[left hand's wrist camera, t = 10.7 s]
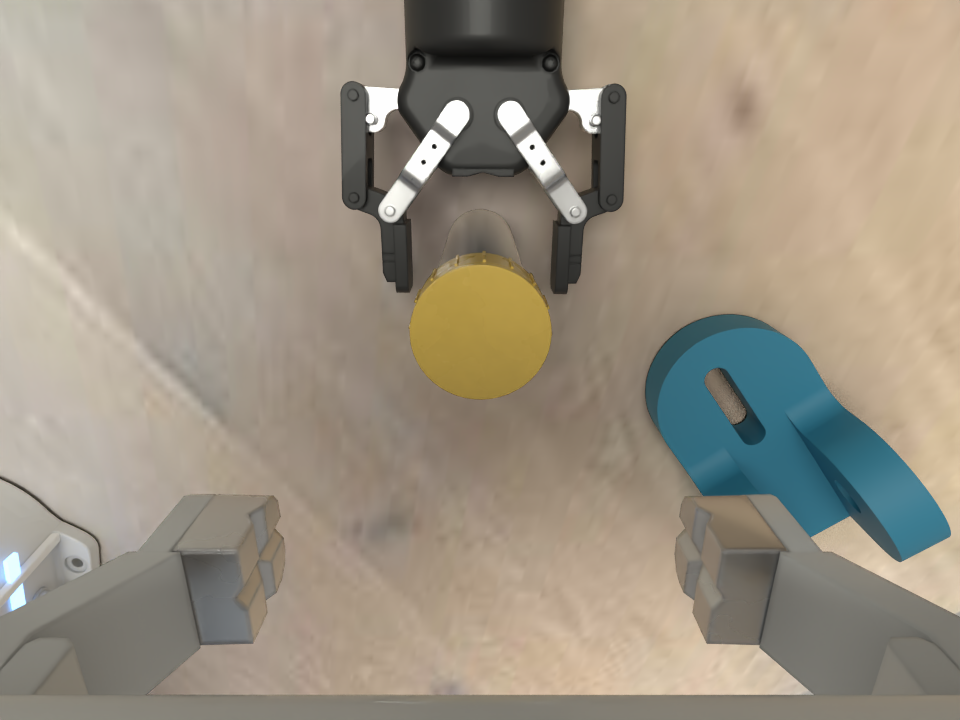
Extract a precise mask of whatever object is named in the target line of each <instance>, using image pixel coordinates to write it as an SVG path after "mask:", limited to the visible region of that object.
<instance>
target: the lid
mask: <svg viewBox="0 0 960 720" xmlns="http://www.w3.org/2000/svg"><path fill="white" fill-rule="evenodd" d="M414 302H415V303H416V305H415V307H414V310H413V313H412V317H411V321H410V324H409V329H410V342H411V347H412V351H413V354H414V356H415V359H416V361H417V363H418V364H419V366H420V368H421V369H422V371H423V372H424V373H425V374H426V376H427V377H428V378H429V379H430V380H431V381H432V382H434V383H435V384H436V385H437V386H439V387H440V388H442V389H444V390H445V391H447V392H449V393H452V394H454V395H457V396H460V397H463V398H469V399H481V400H482V399H492V398H498V397H501V396H504V395H507V394H510V393H512V392H514V391H516V390H518V389H519V388H521V387H522V386H524V385H525V384H526V383H528V382H529V381H530V380H531V379H532V378H533V377H534V376H535V375H536V374H537V372H538V371H539V369H540V368H541V367H542V365H543V363H544V361H545V359H546V357H547V354H548V352H549V348H550V344H551V336H552V330H551V321H550V316H549V312H548V309H550V308H549V305H548V303H547V300H546V298H545V296H544V295H542V294H541V291H540V289H539V287H538V285H537V284H536V282H535V280H534V277H533V275H532V273H530V274H529V273H528V272H527V271H526V270H525V269H524V268H522V267H521V266H520V265H518V264H517V263H515V262H514V261H512V258H510V257H509V258H506V257H502V256H499V255H496V254H490V253H486V251H483V253H470V254H466V255H462V256H459V255H456V258H453V259H451V260H449V261H448V262H446V263H444V264H443V265H441V266H440V267H439V268H438V269H436V268H435V269H433V272H432V274H431V276H430V277H429V278H428V279H427V281H426V282H425V284H424V286H423V287H422V290H421V289H419V291H418V293H417V296H416V298H415V301H414Z"/></svg>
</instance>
